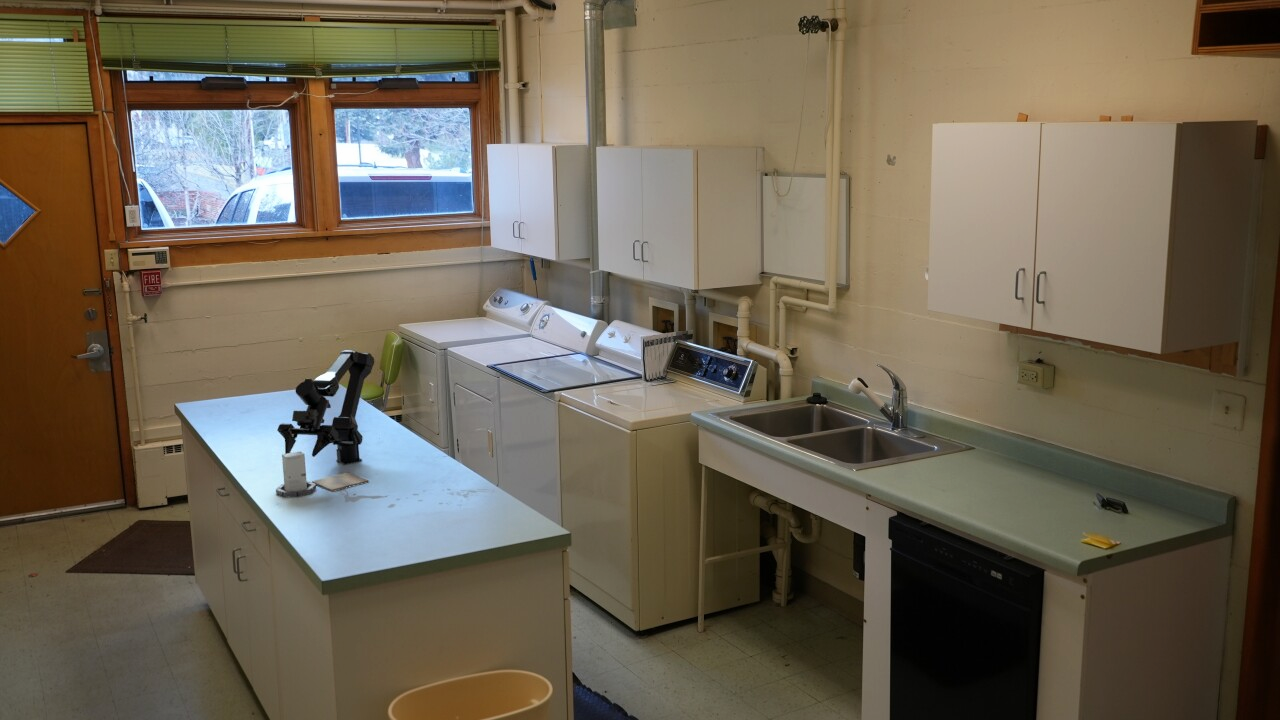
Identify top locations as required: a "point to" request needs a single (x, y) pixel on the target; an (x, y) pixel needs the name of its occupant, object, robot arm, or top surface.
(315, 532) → the top surface
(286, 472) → the skincare box
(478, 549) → the top surface
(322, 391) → the robot arm
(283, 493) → the grey octagonal ring
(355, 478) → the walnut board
